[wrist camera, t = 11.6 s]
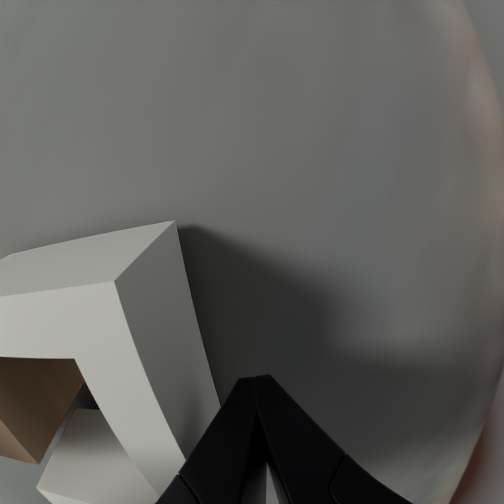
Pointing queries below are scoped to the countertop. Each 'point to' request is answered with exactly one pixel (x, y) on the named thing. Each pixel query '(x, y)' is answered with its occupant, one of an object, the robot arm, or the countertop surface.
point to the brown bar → (34, 403)
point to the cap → (114, 358)
